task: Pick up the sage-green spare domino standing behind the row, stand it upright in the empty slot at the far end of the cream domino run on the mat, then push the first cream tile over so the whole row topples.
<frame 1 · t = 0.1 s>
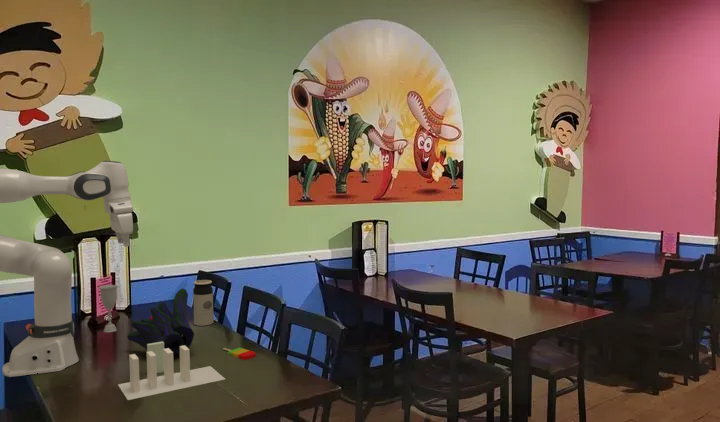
hand: (123, 244, 206), 39 cm above the table, tool pointing down, fingers open, 8 cm apart
travel mug: (203, 324, 245), on the table
chalice: (110, 331, 235), on the table
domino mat: (172, 383, 179), on the table
spare domino: (156, 373, 187), on the table
domino 4: (185, 379, 181), resting on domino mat
popsicle: (237, 355, 206), on the table
domino 2: (152, 385, 176), resting on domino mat
domino 1: (135, 389, 173), resting on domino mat
decorative plant: (163, 351, 210), on the table
domino 3: (169, 382, 178), resting on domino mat
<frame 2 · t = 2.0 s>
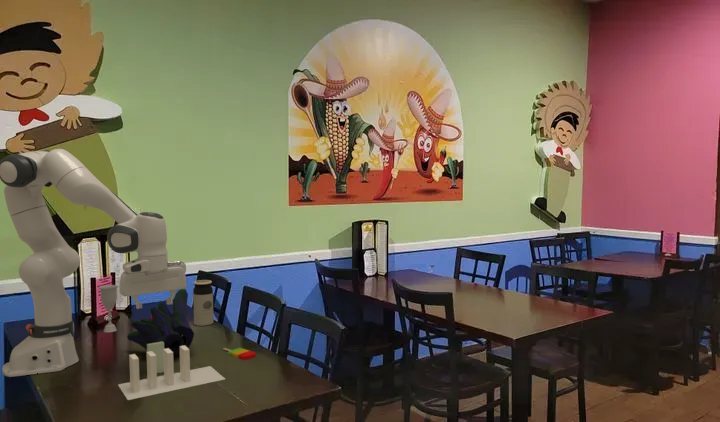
hand: (154, 306, 185), 22 cm above the table, tool pointing down, fingers open, 8 cm apart
nothing on the table moved.
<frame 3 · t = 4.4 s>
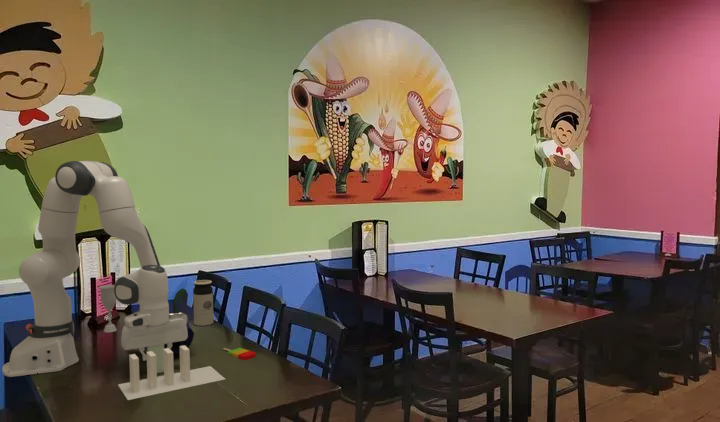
hand: (155, 358, 187), 5 cm above the table, tool pointing down, fingers closed on spare domino, 5 cm apart
spare domino: (156, 373, 187), on the table, touching gripper
everything else where it was.
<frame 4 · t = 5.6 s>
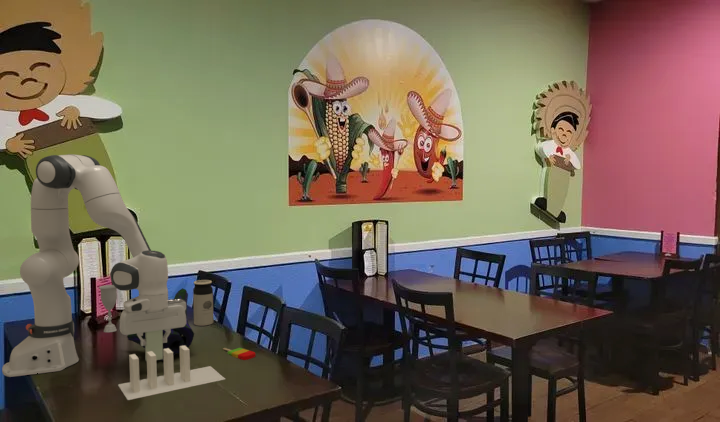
hand: (153, 344, 186), 10 cm above the table, tool pointing down, fingers closed on spare domino, 5 cm apart
spare domino: (154, 359, 187), point 5 cm above the table, touching gripper
everything else where it was.
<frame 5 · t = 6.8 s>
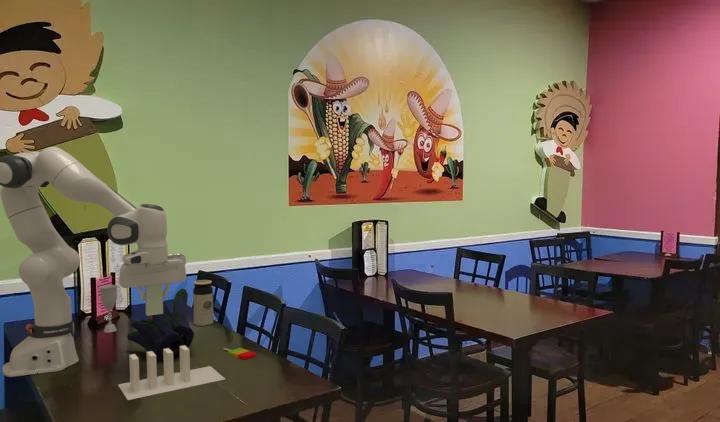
hand: (154, 298, 185), 25 cm above the table, tool pointing down, fingers closed on spare domino, 5 cm apart
spare domino: (154, 314, 185), point 20 cm above the table, touching gripper
everything else where it was.
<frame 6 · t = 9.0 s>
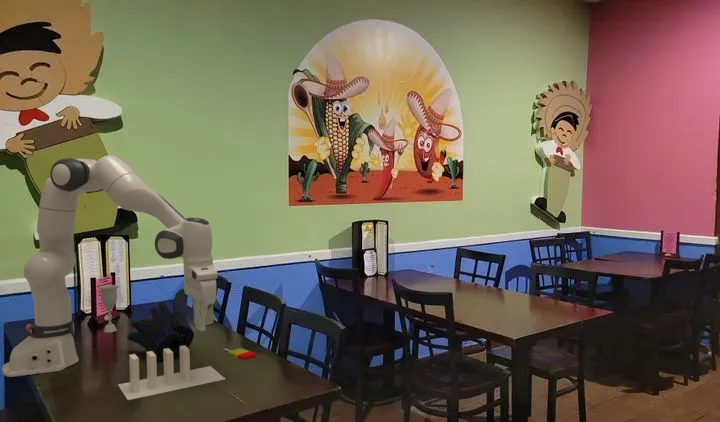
hand: (199, 313, 182), 21 cm above the table, tool pointing down, fingers closed on spare domino, 5 cm apart
spare domino: (200, 329, 183), point 16 cm above the table, touching gripper
everything else where it was.
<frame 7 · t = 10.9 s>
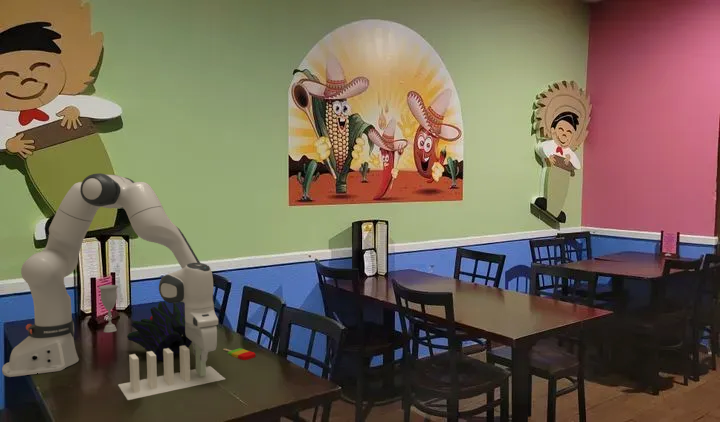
hand: (200, 357, 183), 6 cm above the table, tool pointing down, fingers closed on spare domino, 5 cm apart
spare domino: (200, 373, 184), point 1 cm above the table, touching gripper
everything else where it was.
when the fingers open (6 cm above the table, at t = 11.3 s): spare domino moves 1 cm and tips over, resting on domino 4, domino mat.
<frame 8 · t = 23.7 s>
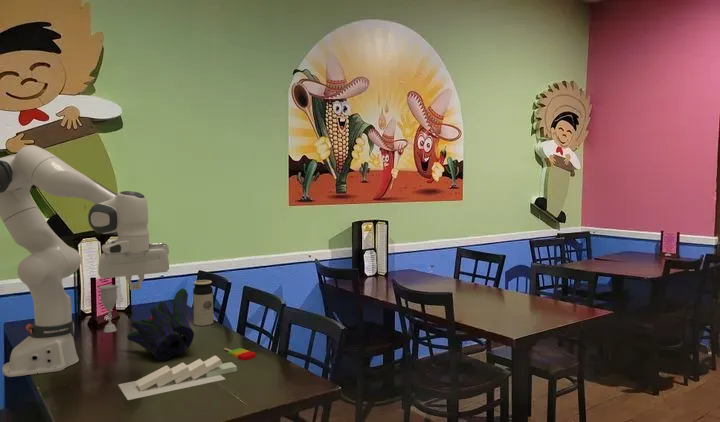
hand: (135, 289, 178), 29 cm above the table, tool pointing down, fingers closed
spare domino: (204, 372, 184), point 1 cm above the table, tilted 90°, touching domino 4, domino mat
domino 4: (189, 375, 182), point 1 cm above the table, tilted 70°, touching domino 3, spare domino
domino 2: (155, 382, 176), point 1 cm above the table, tilted 72°, touching domino 1, domino 3, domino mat
domino 1: (138, 386, 173), point 1 cm above the table, tilted 71°, touching domino 2, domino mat
domino 3: (173, 379, 179), point 1 cm above the table, tilted 71°, touching domino 2, domino 4, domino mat
everything else where it was.
at the end: spare domino tilted 90°; domino 4 tilted 70°; spare domino inside the target area (5.5 cm from its centre), point 1.2 cm above the table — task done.
